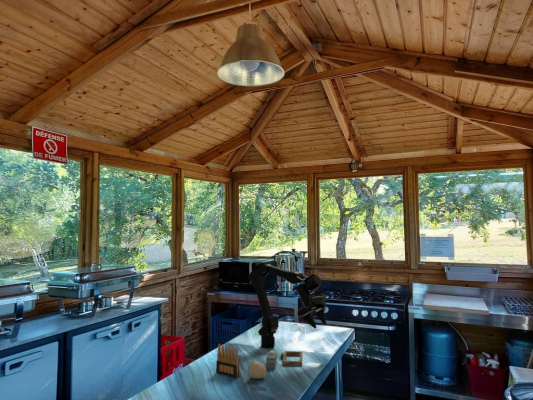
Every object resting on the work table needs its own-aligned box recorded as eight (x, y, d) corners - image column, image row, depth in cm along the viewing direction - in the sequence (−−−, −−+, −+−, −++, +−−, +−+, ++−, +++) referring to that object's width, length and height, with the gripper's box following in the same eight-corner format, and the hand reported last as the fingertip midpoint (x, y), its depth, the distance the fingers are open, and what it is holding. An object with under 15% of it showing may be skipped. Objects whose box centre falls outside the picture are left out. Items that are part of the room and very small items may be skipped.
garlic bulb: (255, 374, 154) (255, 354, 155) (268, 377, 151) (268, 356, 151) (246, 379, 148) (246, 358, 149) (260, 382, 145) (260, 361, 146)
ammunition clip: (239, 376, 151) (239, 346, 152) (236, 378, 149) (236, 347, 150) (218, 371, 156) (218, 342, 158) (215, 373, 155) (216, 343, 156)
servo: (265, 369, 159) (265, 356, 160) (268, 362, 169) (268, 349, 169) (275, 369, 159) (275, 356, 159) (277, 362, 168) (277, 349, 169)
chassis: (279, 365, 164) (279, 361, 164) (281, 354, 178) (281, 350, 179) (301, 366, 163) (301, 361, 163) (302, 355, 177) (302, 351, 177)
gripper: (307, 290, 169) (323, 323, 162) (327, 285, 183) (342, 315, 177) (290, 301, 174) (305, 333, 168) (310, 295, 189) (325, 325, 182)
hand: (320, 326), depth 174 cm, fingers open, 9 cm apart
